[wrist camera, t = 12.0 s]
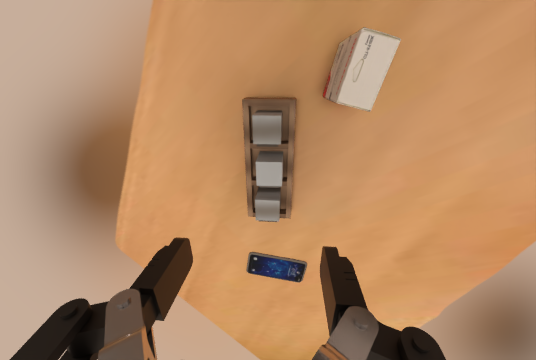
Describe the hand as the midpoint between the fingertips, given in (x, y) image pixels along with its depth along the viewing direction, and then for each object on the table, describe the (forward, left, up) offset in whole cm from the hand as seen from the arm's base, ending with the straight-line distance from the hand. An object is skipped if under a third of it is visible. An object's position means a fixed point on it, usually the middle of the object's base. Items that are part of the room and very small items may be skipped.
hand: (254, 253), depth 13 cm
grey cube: (+6, -1, -31) cm, 31 cm away
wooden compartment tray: (+6, -2, -32) cm, 33 cm away
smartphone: (+35, 0, -33) cm, 48 cm away
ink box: (-10, +11, -32) cm, 36 cm away
